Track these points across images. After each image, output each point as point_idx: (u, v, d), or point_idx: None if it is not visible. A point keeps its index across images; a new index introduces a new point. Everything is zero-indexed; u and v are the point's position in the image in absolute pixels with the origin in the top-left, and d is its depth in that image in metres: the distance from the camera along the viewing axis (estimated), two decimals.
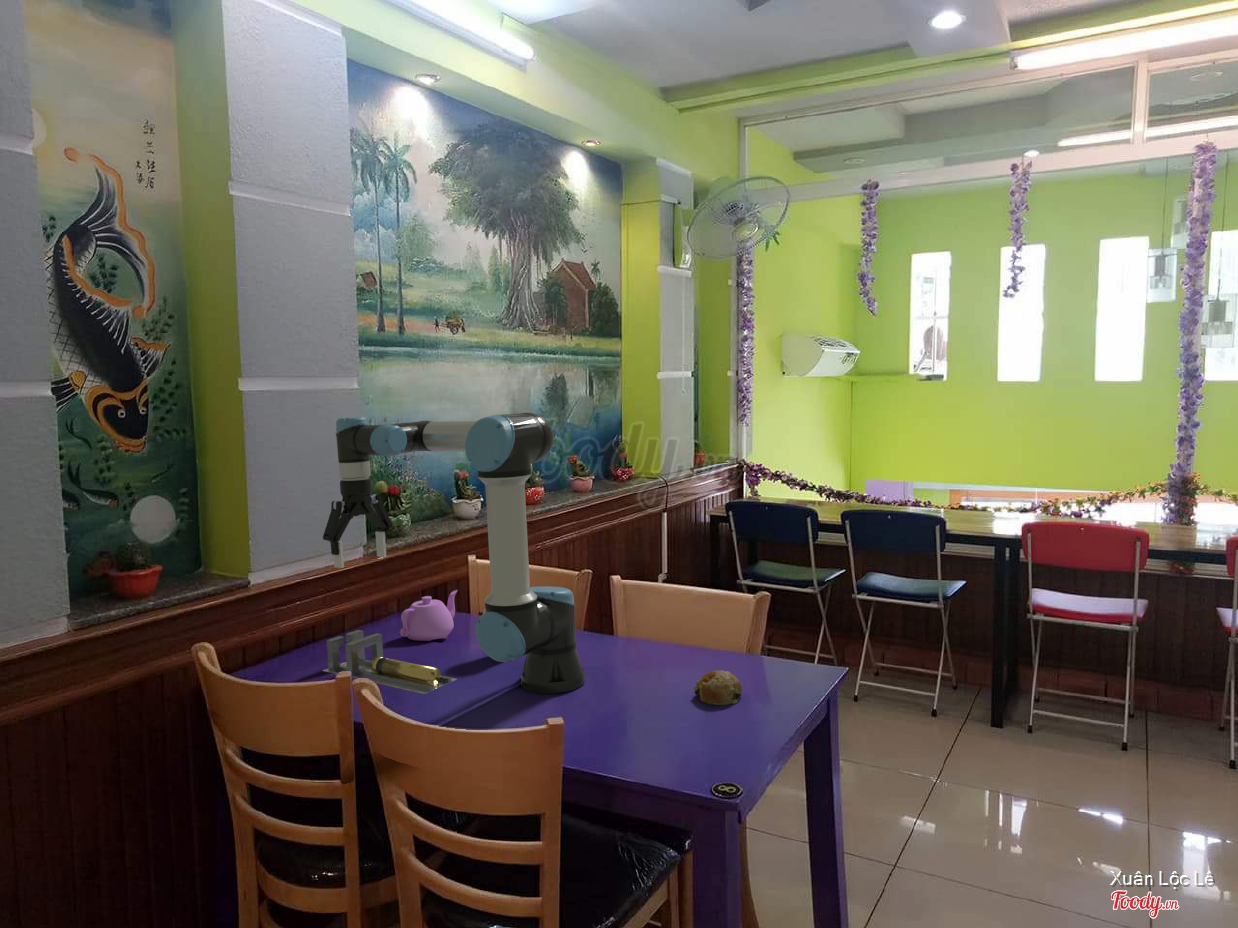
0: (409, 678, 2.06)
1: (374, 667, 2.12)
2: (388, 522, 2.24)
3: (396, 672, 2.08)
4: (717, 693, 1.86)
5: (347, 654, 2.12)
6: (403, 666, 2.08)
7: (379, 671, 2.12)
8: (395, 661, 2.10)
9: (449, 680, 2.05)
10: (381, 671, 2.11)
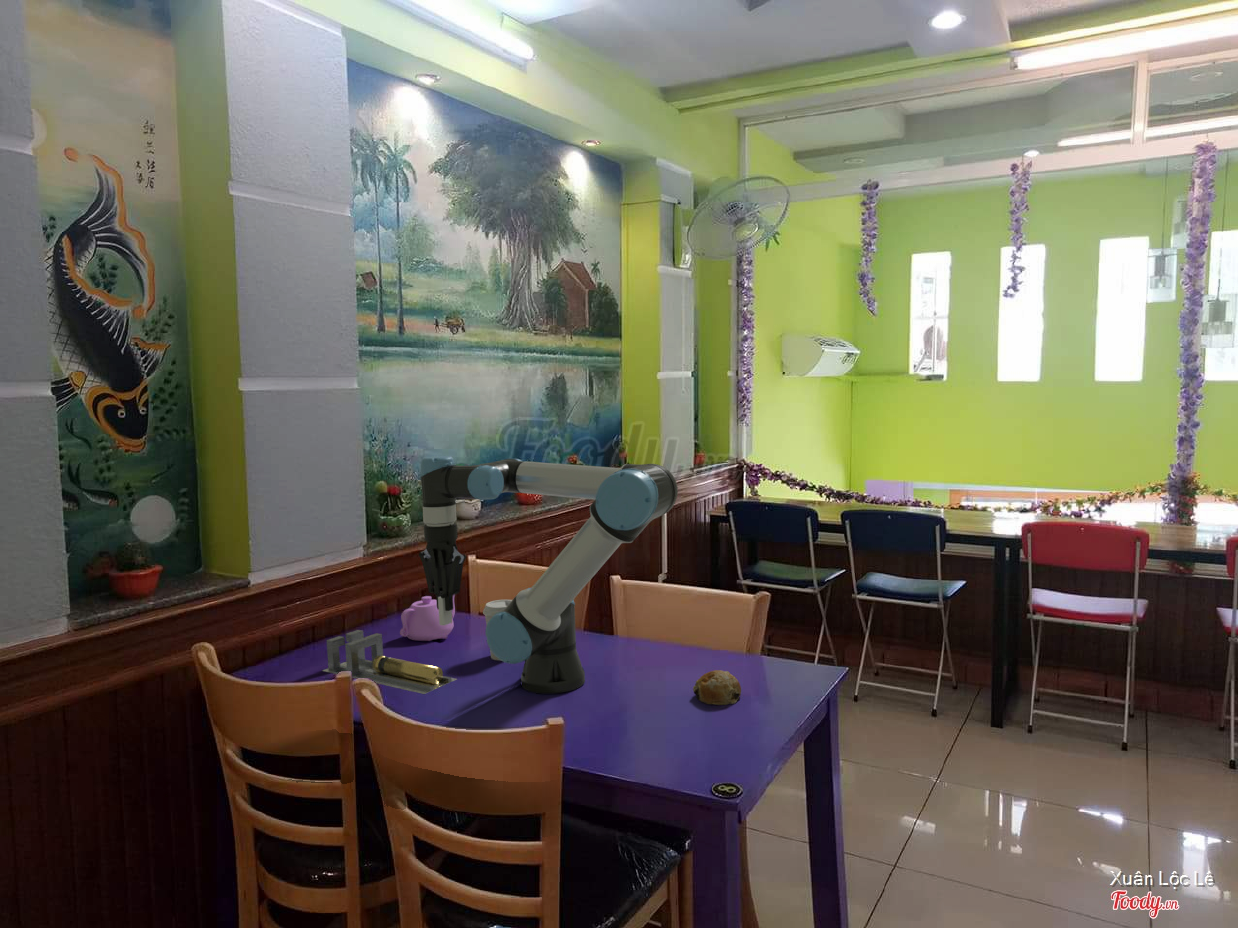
0: (410, 675, 2.06)
1: (377, 664, 2.13)
2: (450, 588, 1.96)
3: (399, 668, 2.09)
4: (716, 693, 1.87)
5: (347, 654, 2.12)
6: (407, 663, 2.09)
7: (381, 667, 2.12)
8: (399, 659, 2.12)
9: (449, 680, 2.05)
10: (383, 667, 2.12)
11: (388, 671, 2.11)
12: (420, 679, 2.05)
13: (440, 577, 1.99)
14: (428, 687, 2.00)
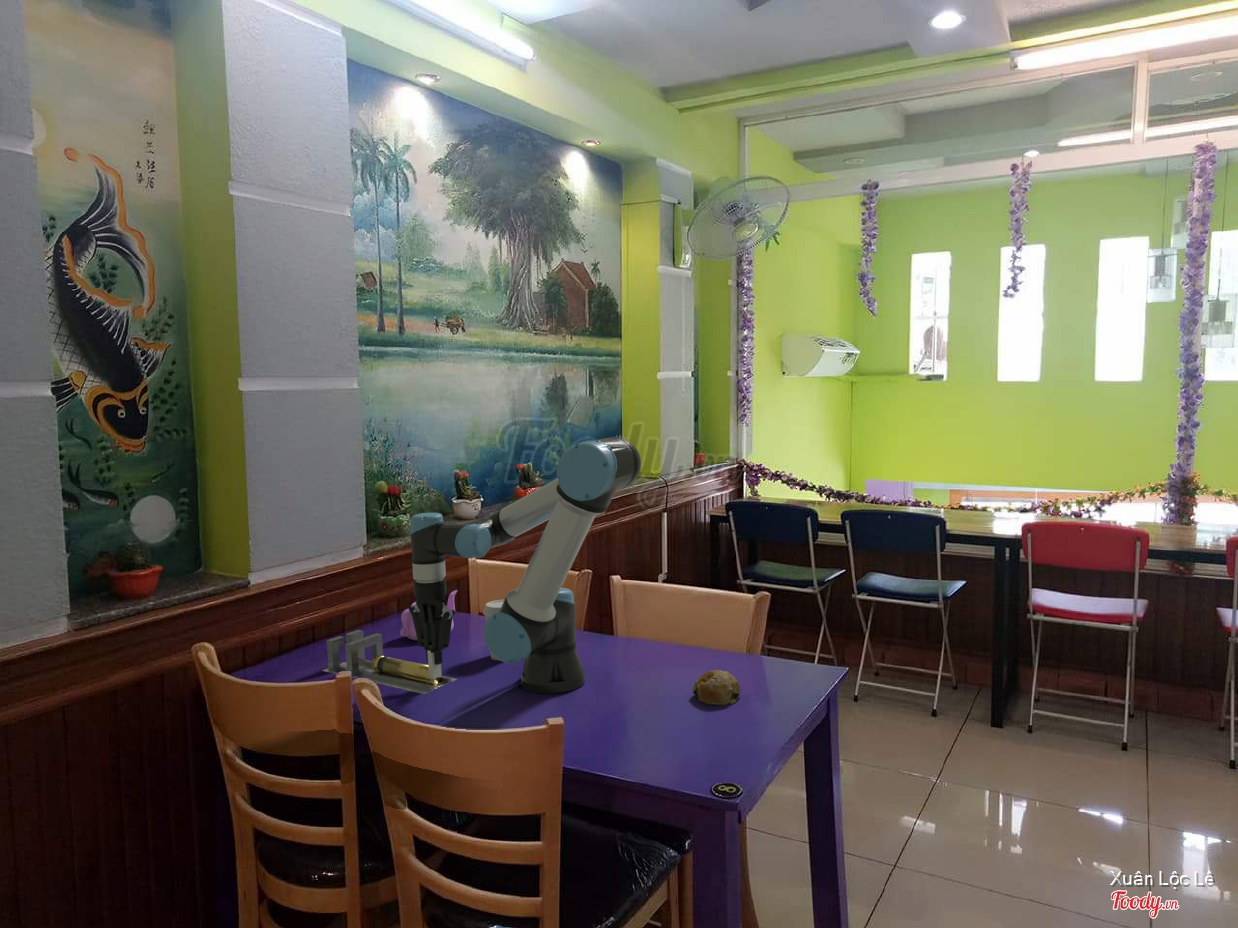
0: (409, 674, 2.07)
1: (376, 663, 2.13)
2: (439, 643, 2.00)
3: (397, 667, 2.09)
4: (715, 693, 1.87)
5: (347, 654, 2.12)
6: (405, 662, 2.09)
7: (379, 667, 2.12)
8: (398, 659, 2.12)
9: (449, 680, 2.05)
10: (382, 667, 2.12)
11: (387, 671, 2.11)
12: (419, 679, 2.05)
13: (429, 631, 2.03)
14: (428, 687, 2.00)
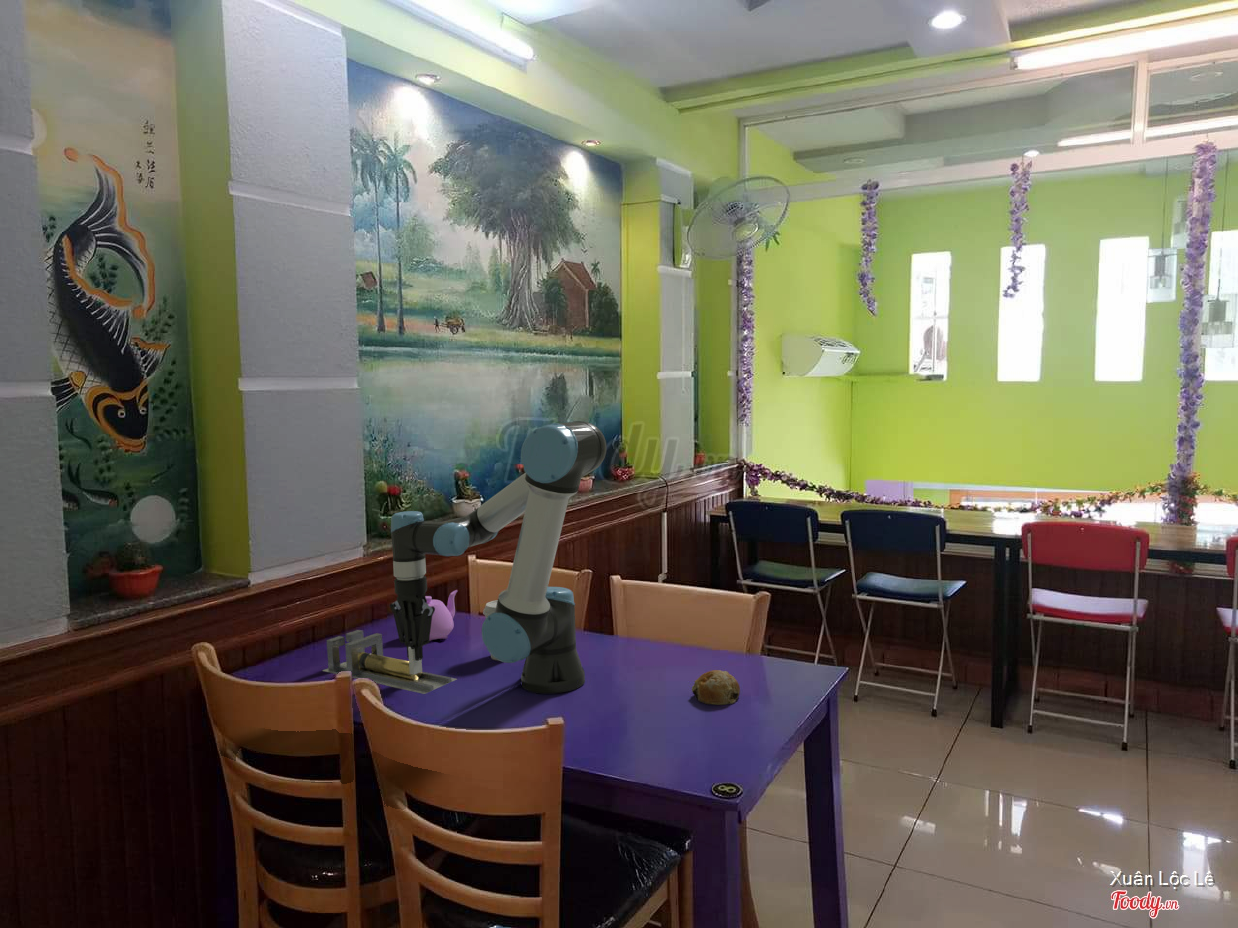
0: (390, 670, 2.10)
1: (358, 659, 2.16)
2: (419, 639, 2.04)
3: (379, 663, 2.12)
4: (715, 693, 1.87)
5: (347, 654, 2.12)
6: (387, 659, 2.12)
7: (362, 663, 2.16)
8: (380, 655, 2.15)
9: (449, 680, 2.05)
10: (364, 663, 2.15)
11: (369, 667, 2.14)
12: (400, 675, 2.09)
13: (410, 628, 2.06)
14: (428, 687, 2.00)
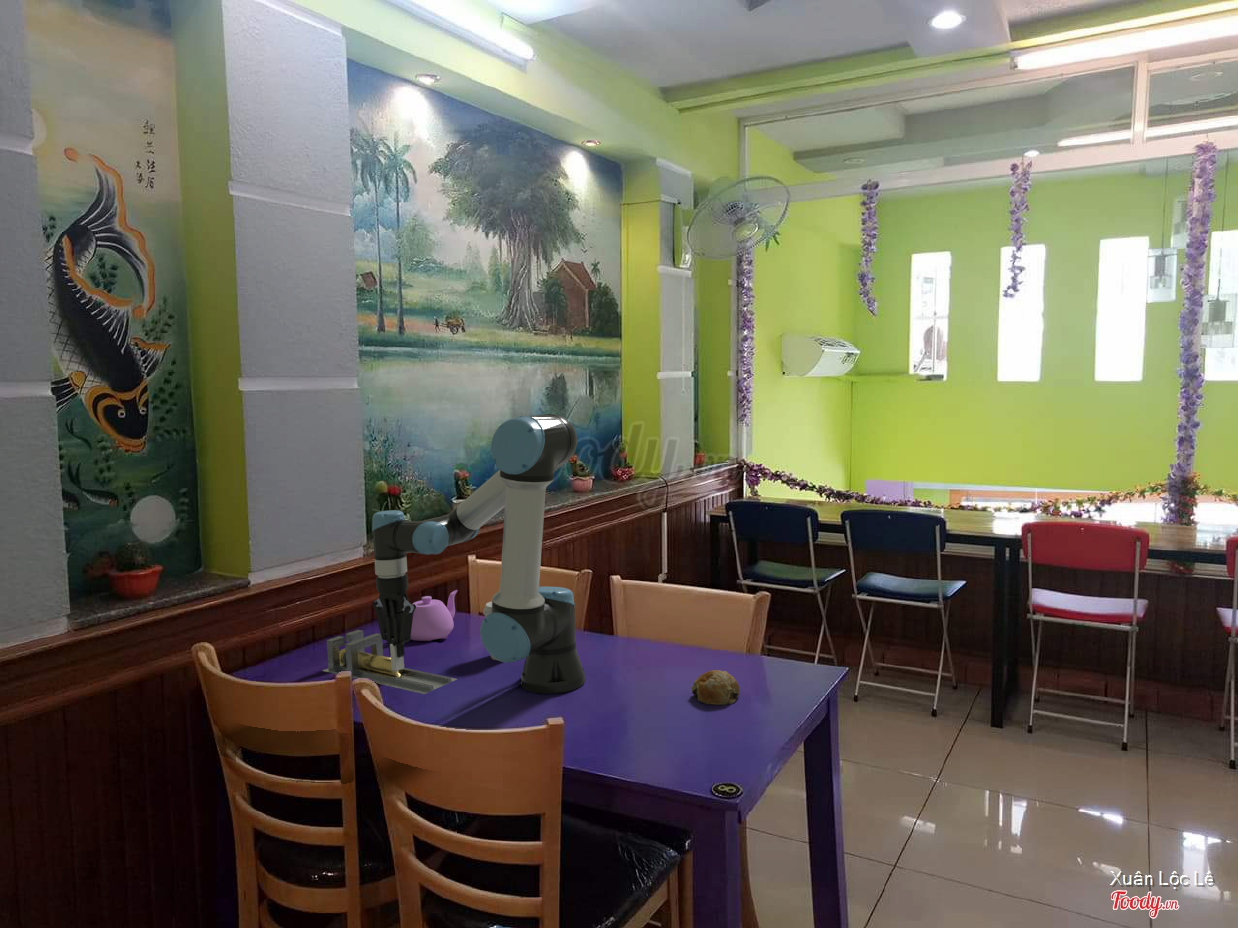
0: (373, 667, 2.13)
1: (341, 657, 2.20)
2: (400, 636, 2.07)
3: (362, 660, 2.16)
4: (715, 693, 1.87)
5: (347, 654, 2.12)
6: (369, 656, 2.16)
7: (345, 660, 2.19)
8: (363, 652, 2.18)
9: (449, 680, 2.05)
10: None
11: None
12: (382, 671, 2.12)
13: (392, 625, 2.10)
14: (428, 687, 2.00)
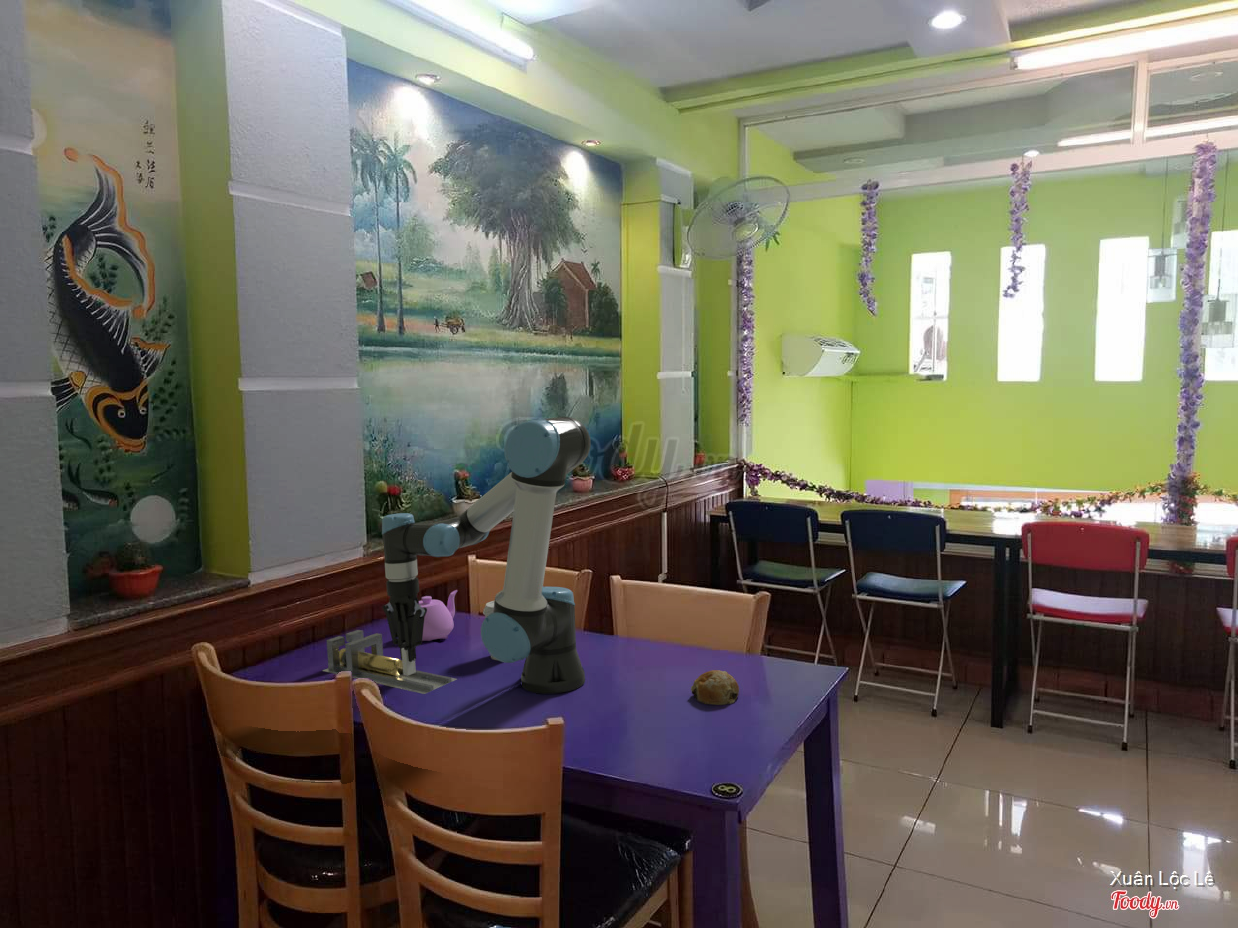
0: (372, 666, 2.14)
1: (341, 656, 2.20)
2: (412, 640, 2.05)
3: (361, 660, 2.16)
4: (714, 693, 1.87)
5: (347, 654, 2.12)
6: (369, 655, 2.16)
7: (344, 660, 2.19)
8: None
9: (449, 680, 2.05)
10: None
11: None
12: (381, 671, 2.12)
13: (403, 629, 2.08)
14: (428, 687, 2.00)
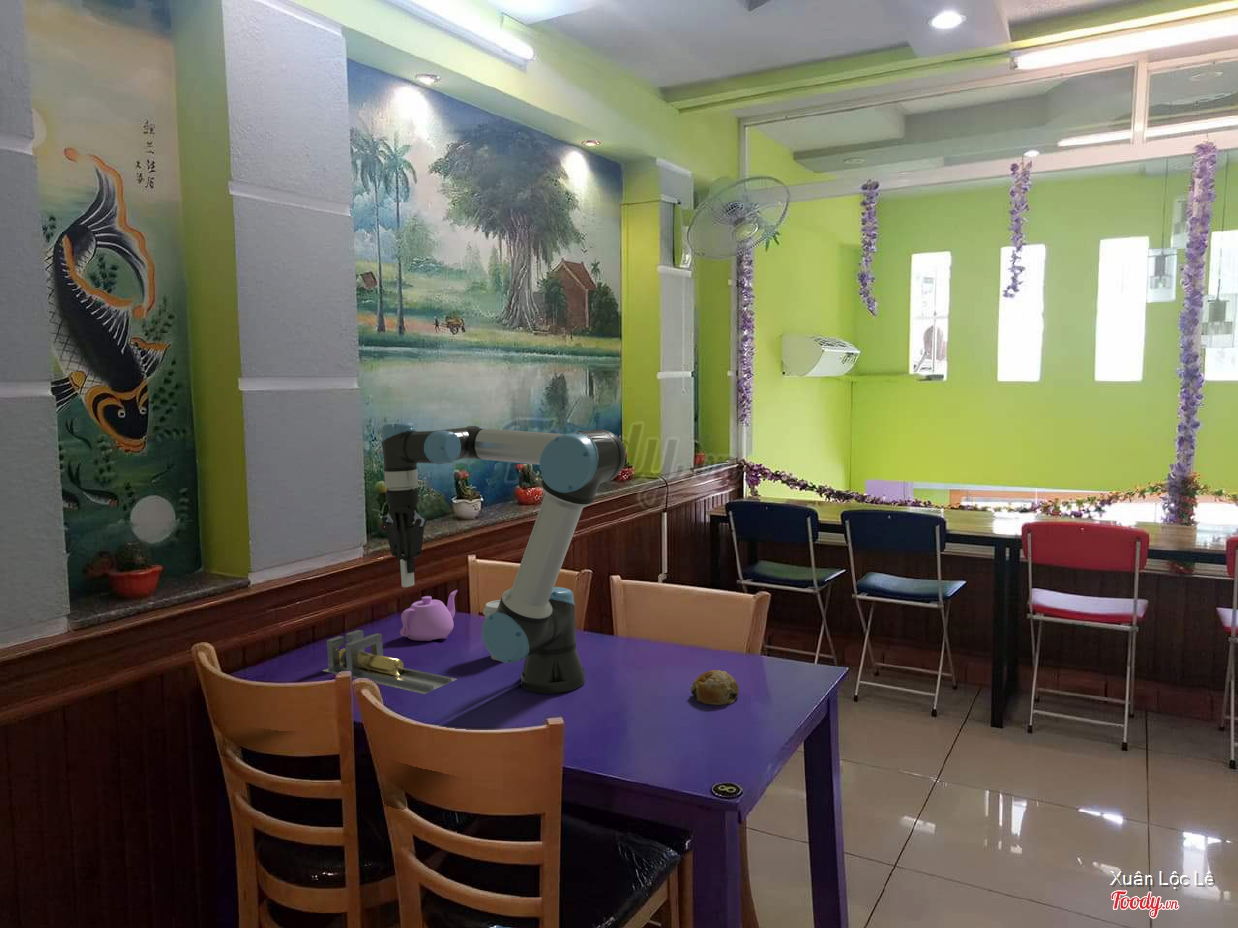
0: (372, 666, 2.14)
1: (341, 656, 2.20)
2: (411, 550, 2.02)
3: (361, 660, 2.16)
4: (714, 693, 1.87)
5: (347, 654, 2.12)
6: (369, 655, 2.16)
7: (344, 660, 2.19)
8: None
9: (449, 680, 2.05)
10: None
11: None
12: (381, 671, 2.12)
13: (402, 540, 2.05)
14: (428, 687, 2.00)
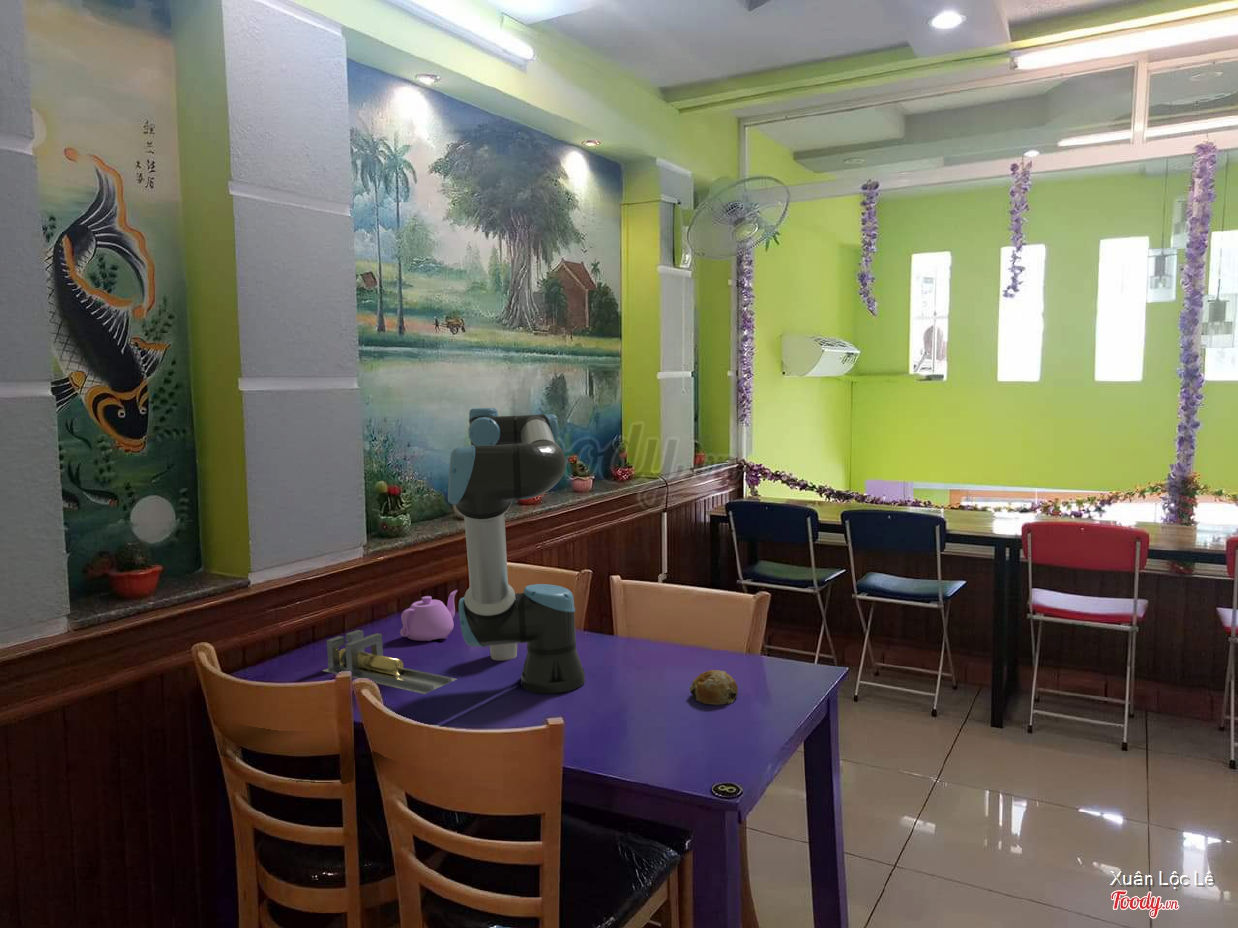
0: (372, 666, 2.14)
1: (341, 656, 2.20)
2: None
3: (361, 660, 2.16)
4: (713, 693, 1.87)
5: (347, 654, 2.12)
6: (369, 655, 2.16)
7: (344, 660, 2.19)
8: None
9: (449, 680, 2.05)
10: None
11: None
12: (381, 671, 2.12)
13: None
14: (428, 687, 2.00)
